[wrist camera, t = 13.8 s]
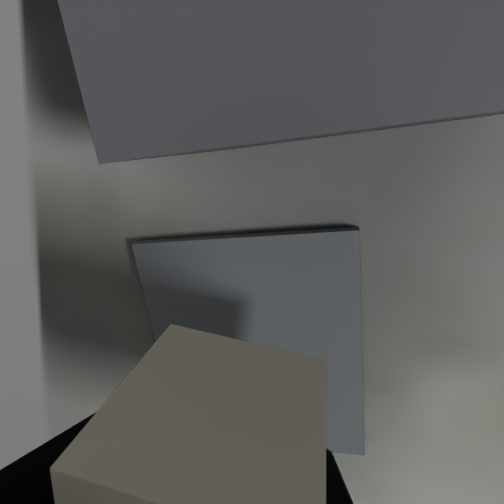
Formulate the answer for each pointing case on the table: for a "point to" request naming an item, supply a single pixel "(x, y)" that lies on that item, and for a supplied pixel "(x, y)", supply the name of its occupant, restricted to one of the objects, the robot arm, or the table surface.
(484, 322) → the table surface
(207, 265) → the slate pad
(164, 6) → the grey box
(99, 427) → the cream cube
